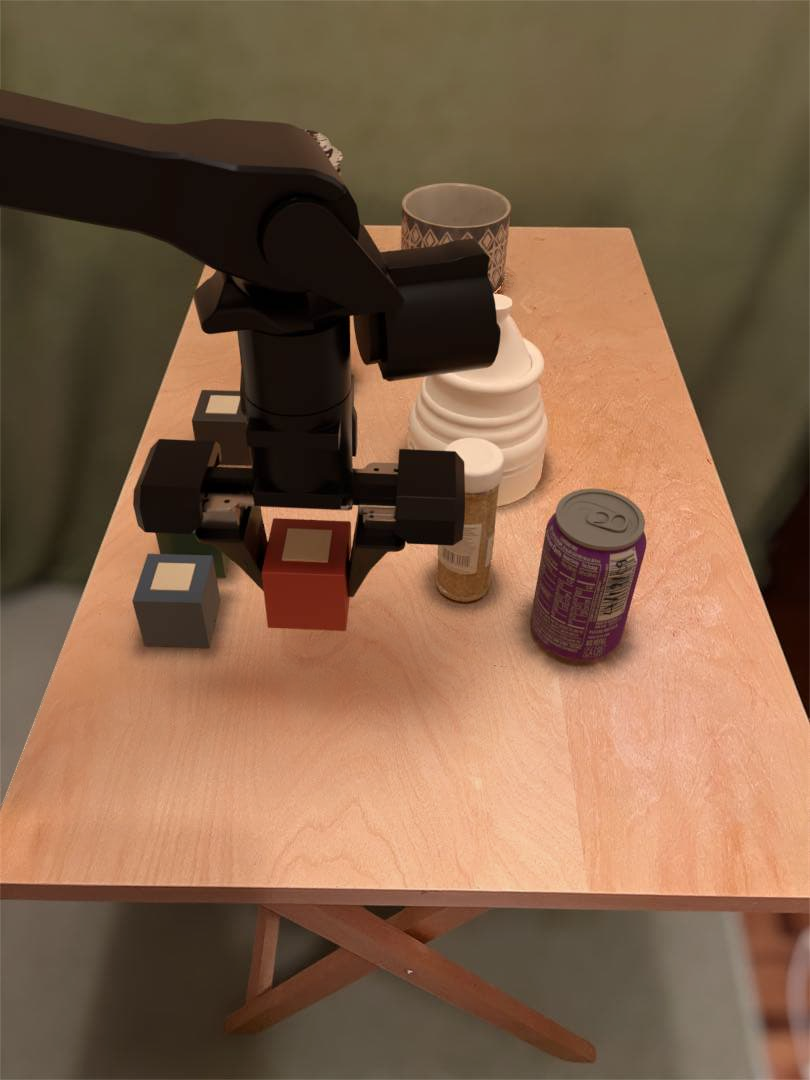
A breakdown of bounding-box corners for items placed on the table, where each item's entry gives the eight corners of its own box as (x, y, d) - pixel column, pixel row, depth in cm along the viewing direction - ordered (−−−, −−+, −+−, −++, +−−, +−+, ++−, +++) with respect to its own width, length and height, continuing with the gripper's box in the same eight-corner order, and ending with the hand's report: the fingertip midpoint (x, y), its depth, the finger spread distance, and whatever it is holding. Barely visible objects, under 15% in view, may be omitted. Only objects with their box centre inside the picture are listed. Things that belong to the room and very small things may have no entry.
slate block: (209, 647, 70) (200, 601, 66) (144, 646, 70) (131, 599, 66) (220, 600, 73) (212, 553, 70) (158, 598, 73) (147, 552, 70)
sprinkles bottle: (500, 585, 75) (518, 454, 66) (463, 613, 73) (475, 481, 64) (460, 556, 77) (471, 427, 68) (422, 583, 75) (428, 452, 66)
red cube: (345, 631, 58) (344, 574, 54) (267, 628, 58) (261, 570, 55) (352, 576, 62) (351, 519, 58) (278, 573, 62) (272, 516, 58)
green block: (225, 578, 75) (218, 531, 72) (164, 576, 75) (154, 530, 72) (235, 536, 79) (228, 491, 75) (177, 535, 79) (167, 489, 75)
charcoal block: (251, 465, 86) (246, 420, 83) (198, 463, 86) (191, 419, 83) (258, 433, 90) (254, 389, 86) (208, 432, 90) (201, 388, 86)
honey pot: (560, 498, 83) (591, 322, 71) (423, 516, 81) (431, 337, 69) (519, 418, 92) (540, 249, 80) (394, 431, 90) (397, 260, 78)
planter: (390, 268, 116) (390, 186, 109) (484, 259, 119) (491, 179, 111) (414, 317, 107) (417, 231, 100) (516, 306, 110) (526, 222, 102)
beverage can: (627, 611, 73) (658, 497, 65) (612, 677, 68) (644, 562, 60) (540, 589, 75) (560, 475, 67) (519, 652, 70) (538, 536, 62)
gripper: (470, 317, 54) (453, 515, 65) (158, 305, 55) (192, 503, 65) (473, 427, 46) (454, 632, 57) (107, 411, 46) (156, 619, 57)
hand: (310, 590), depth 59 cm, fingers closed on red cube, 5 cm apart
